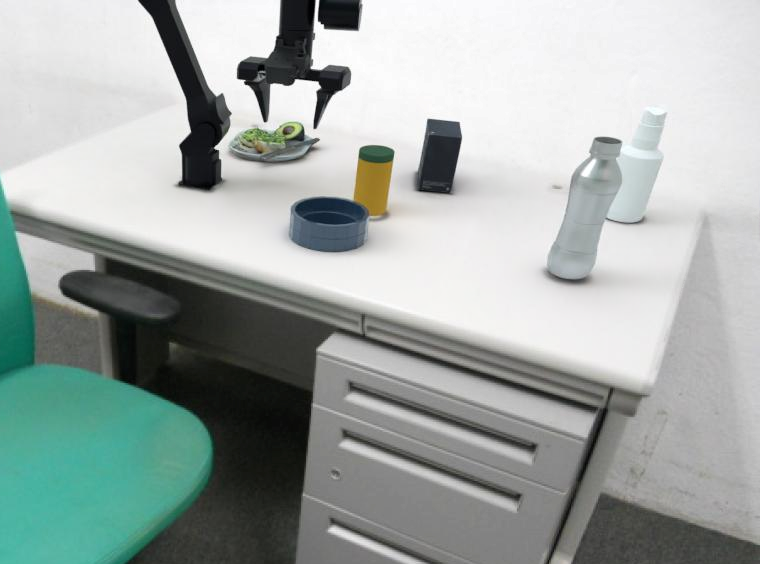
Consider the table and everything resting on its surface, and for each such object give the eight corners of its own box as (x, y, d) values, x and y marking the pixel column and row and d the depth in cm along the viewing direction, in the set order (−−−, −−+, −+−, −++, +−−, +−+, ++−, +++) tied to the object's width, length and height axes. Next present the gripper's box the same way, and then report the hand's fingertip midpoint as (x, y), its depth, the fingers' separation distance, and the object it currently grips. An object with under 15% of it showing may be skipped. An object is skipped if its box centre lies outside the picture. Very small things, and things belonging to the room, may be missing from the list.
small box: (452, 194, 142) (464, 136, 136) (417, 191, 143) (426, 133, 137) (450, 175, 151) (461, 120, 144) (416, 172, 152) (426, 117, 145)
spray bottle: (640, 211, 137) (676, 106, 126) (643, 225, 131) (682, 117, 121) (598, 206, 138) (631, 102, 128) (600, 220, 133) (635, 112, 122)
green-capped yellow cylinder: (347, 216, 133) (355, 152, 126) (357, 205, 137) (364, 143, 131) (380, 222, 131) (389, 157, 125) (389, 210, 135) (398, 147, 129)
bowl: (277, 247, 122) (279, 217, 119) (303, 220, 131) (305, 191, 128) (353, 262, 118) (357, 231, 115) (374, 233, 127) (378, 203, 124)
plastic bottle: (536, 266, 118) (572, 133, 106) (578, 265, 118) (619, 133, 107) (554, 285, 113) (595, 148, 101) (598, 284, 113) (644, 147, 101)
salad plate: (302, 172, 151) (304, 148, 148) (216, 161, 155) (216, 138, 152) (322, 143, 166) (324, 121, 163) (243, 134, 170) (244, 113, 167)
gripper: (224, 31, 123) (223, 130, 132) (336, 42, 117) (327, 145, 126) (250, 20, 131) (247, 114, 140) (356, 29, 125) (346, 127, 134)
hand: (290, 125), depth 135 cm, fingers open, 9 cm apart
